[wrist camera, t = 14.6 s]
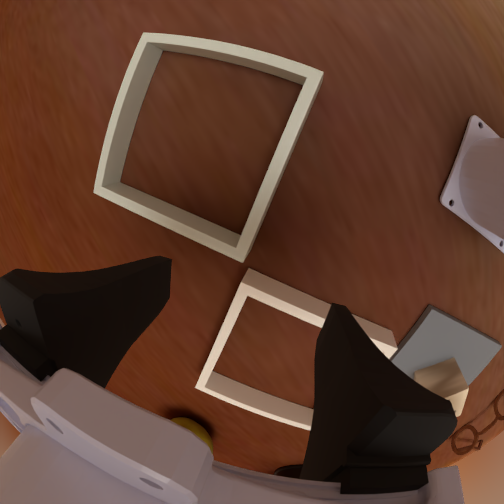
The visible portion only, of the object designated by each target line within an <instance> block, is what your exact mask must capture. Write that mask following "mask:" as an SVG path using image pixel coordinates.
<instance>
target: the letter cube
mask: <svg viewBox="0 0 504 504" xmlns="http://www.w3.org/2000/svg"><path fill="white" fill-rule="evenodd" d="M414 381H416V382H417V383H419V384H420V385H422V386H423V387H425V388H427V389H428V390H430V391H431V392H433V393H435V394H437V395H439V396H441V397H443V398H445V399H447V400H449V401H451V403H452V406H453V409H454V412H455V415H456V417H457V416H459V415H461V412H462V409H463V406H464V403H465V400H466V397H467V393H468V390H469V387H468V385H467V383H466V381H465V379H464V376H463V374H462V372H461V370H460V368H459V366H458V364H457V362H456V360H455V358H451V359H448V360H446V361H443V362H440V363H437V364H435V365H432V366H429V367H426V368H423V369H420V370H417V371H415V374H414Z"/></svg>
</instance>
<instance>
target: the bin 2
mask: <svg viewBox="0 0 504 504" xmlns="http://www.w3.org/2000/svg"><path fill="white" fill-rule="evenodd" d="M247 296H250V297H252V298H254V299H256V300H258V301H261V302H263V303H265V304H267V305H270V306H272V307H274V308H276V309H279V310H281V311H283V312H286V313H288V314H290V315H292V316H295V317H297V318H299V319H302V320H304V321H306V322H309V323H311V324H314V325H316V326H318V327H321V328H322V327H323V324H324V322H325V319H326V317H327V314H328V312H329V309H330V307H331V304H328V303H326V302H324V301H322V300H319V299H317V298H315V297H312V296H310V295H308V294H306V293H303V292H301V291H299V290H297V289H294V288H292V287H290V286H288V285H286V284H283V283H281V282H279V281H277V280H274V279H272V278H270V277H268V276H266V275H263V274H261V273H259V272H257V271H255V270H252V269H250V268H248V270H247V272H246V274H245V276H244V277H243V279H242V281H241V283H240V286H239V288H238V290H237V292H236V295H235V297H234V299H233V302H232V304H231V306H230V309H229V311H228V313H227V316H226V318H225V320H224V323H223V325H222V327H221V329H220V332H219V334H218V336H217V339H216V341H215V343H214V346H213V348H212V350H211V353H210V355H209V357H208V359H207V362H206V364H205V366H204V369H203V371H202V373H201V376H200V378H199V380H198V383H197V385H196V387H195V388H197V389H199V390H201V391H203V392H206V393H208V394H210V395H212V396H214V397H217V398H219V399H221V400H224V401H226V402H229V403H231V404H233V405H236V406H238V407H241V408H243V409H246V410H249V411H251V412H254V413H257V414H260V415H262V416H265V417H268V418H271V419H274V420H277V421H280V422H283V423H286V424H289V425H293V426H296V427H299V428H303V429H306V430H311V424H312V418H313V411H314V409H311V408H307V407H304V406H301V405H298V404H295V403H292V402H289V401H286V400H283V399H281V398H278V397H275V396H272V395H270V394H267V393H264V392H262V391H259V390H256V389H254V388H251V387H249V386H246V385H244V384H242V383H239V382H237V381H234V380H232V379H230V378H227V377H225V376H223V375H221V374H218V373H216V372H214V371H212V370H213V368H214V366H215V364H216V362H217V360H218V357H219V355H220V353H221V351H222V349H223V347H224V345H225V343H226V340H227V338H228V336H229V334H230V332H231V330H232V328H233V326H234V323H235V321H236V319H237V317H238V315H239V313H240V310H241V308H242V306H243V304H244V302H245V300H246V298H247ZM352 315H353V316H354V318H355V319H356V321H357V322H358V323H359V325H360V326H361V327H362V329H363V330H364V331H365V333H366V334H367V335H368V336H369V338H370V339H371V340H372V341H373V343H374V344H375V345H376V346H377V347H378V348H379V350H380V351H381V352H382V353H383V354H384V355H385V356H386V357H387V358H388V359H390V357H391V356H392V355H393V354H394V353H395V352H396V350H397V349H398V348H397V345H396V342H395V339H394V336H393V333H392V331H391V330H388V329H386V328H384V327H381V326H379V325H377V324H374V323H372V322H370V321H367V320H365V319H363V318H360V317H358V316H356V315H354V314H352Z"/></svg>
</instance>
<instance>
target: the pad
mask: <svg viewBox="0 0 504 504" xmlns="http://www.w3.org/2000/svg"><path fill="white" fill-rule="evenodd" d="M501 347H502V346H501V344H500V343H499V342H498V341H496V340H495V339H493V338H491V337H489V336H487V335H486V334H484V333H482V332H480V331H478V330H477V329H475V328H473V327H471V326H469V325H467V324H466V323H464V322H462V321H460V320H458V319H456V318H454V317H453V316H451V315H449V314H447V313H445V312H443V311H441V310H439V309H437V308H435V307H434V306H432V305H430V304H429V305H428V307H427V308H426V309H425V311H424V312H423V314H422V315H421V317H420V318H419V319H418V321H417V322H416V323H415V325H414V326H413V327H412V329H411V330H410V331H409V333H408V334H407V335H406V336H405V338H404V339H403V340H402V341H401V343H400V344H399V345H398V346H397V348H398V349H397V350H396V352H395V353H394V354H393V355H392V356H391V357H390V359H389V360H390V361H391V362H392V363H393V364H395V365H396V366H397V367H398V368H399V369H400V370H402V371H403V372H404V373H405V374H407V375H408V376H409V377H410V378H412V379H413V380H414V374H415V371H417V370H420V369H423V368H426V367H429V366H432V365H435V364H437V363H440V362H443V361H446V360H448V359H451V358H455V360H456V362H457V364H458V366H459V368H460V370H461V372H462V374H463V376H464V379H465V381H466V383H467V385H469V384H470V383H471V382H472V381H473V380H474V379H475V378H476V377H477V376H478V375H479V374H480V372H481V371H482V370H483V369H484V368H485V367H486V366H487V364H488V363H489V362H490V361H491V360H492V358H493V357H494V356H495V355H496V353H497V352H498V351H499V350H500V348H501Z"/></svg>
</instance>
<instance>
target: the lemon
mask: <svg viewBox="0 0 504 504" xmlns="http://www.w3.org/2000/svg"><path fill="white" fill-rule="evenodd" d="M170 421H172V422H174V423H176V424H178V425H180V426H182V427H184V428H186V429H188V430H190V431H192V432H193V433H194V434H195V435H197V436H198V437H199V438H200V439H202V440H203V441H204V442H205V443H207V445H208V446H209V448H210V450H211V453H212V454H213V443H212V439H211V437H210V436H209V434H208V432H207V431H206V430H205V429H204V428H203V427H202V426H201V425H199V424H198V423H196V422H195V421H193V420H191V419H189V418H184V417H177V418H173V419H171V420H170Z"/></svg>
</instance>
